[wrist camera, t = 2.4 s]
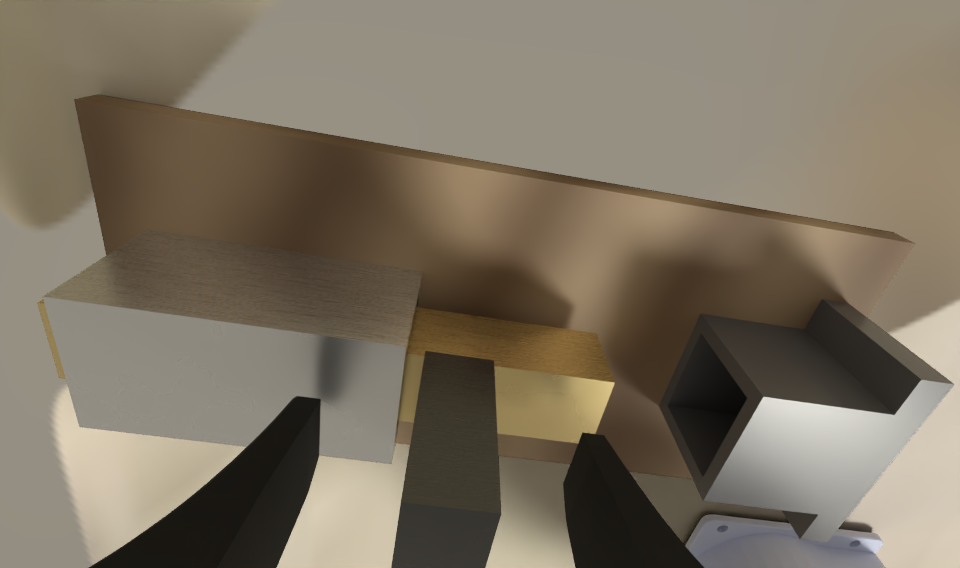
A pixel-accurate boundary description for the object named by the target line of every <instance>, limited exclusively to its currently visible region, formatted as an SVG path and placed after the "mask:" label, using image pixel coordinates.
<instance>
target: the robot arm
mask: <svg viewBox="0 0 960 568" xmlns="http://www.w3.org/2000/svg"><path fill="white" fill-rule="evenodd" d="M320 408H321V399H317V398H310V397H302V396H296V397H294V398H293V399H292V400H291V401H290V402H289V403H288V404H287V406H286V407H285V408H284V409H283V410H282V411H281V412H280V413H279V414H278V416H277V417H276V418H275V419H274V420H273V421H272V422H271V423H270V424H269V425H268V426H267V427H266V428H265V429H264V430H263V431H262V432H261V433H260V435H259V436H257V437H256V438H255V439H254V440H253V441H252V442H251V443H250V444H249V445H248V446H247V447H246V448H245V449H244V450H243V451H242V452H241V453H240V454H239V455H238V456H237V457H236V458H235V459H234V460H233V461H232V462H230V463H229V464H228V465H227V466H226V467H225V468H224V469H223V470H221V471H220V472H219V473H218V474H217V475H216V476H215V477H214V478H212V479H211V480H210V481H209V482H208V483H207V484H206V485H204V486H203V487H202V488H201V489H200V490H198V491H197V492H196V493H195V494H194V495H192V496H191V497H190V498H189V499H187V500H186V501H185V502H184V503H182V504H181V505H180V506H178V507H177V508H176V509H174V510H173V511H172V512H171V513H169V514H168V515H167V516H165V517H164V518H162V519H161V520H160V521H158V522H157V523H155V524H154V525H153V526H151V527H150V528H148V529H147V530H146V531H144V532H143V533H141V534H140V535H139V536H137V537H136V538H134V539H133V540H131V541H130V542H128V543H127V544H125V545H124V546H122V547H121V548H119V549H118V550H116V551H115V552H113V553H112V554H110V555H108V556H107V557H105V558H104V559H102V560H100V561H99V562H97V563H96V564H94V565H92V566H91V567H89V568H276V567H277V565H278V563H279V560H280V558H281V556H282V553H283V551H284V549H285V546H286V544H287V542H288V539H289V537H290V534H291V532H292V530H293V527H294V525H295V523H296V520H297V518H298V516H299V513H300V511H301V508H302V506H303V504H304V501H305V499H306V496H307V494H308V491H309V488H310V484H311V481H312V478H313V475H314V471H315V468H316V464H317V461H318V458H319V446H320ZM563 487H564V500H565V512H566V522H567V527H568V533H569V538H570V543H571V548H572V553H573V557H574V562H575V567H576V568H885V566H884V565H883V564H882V562H881V561H880V560H879V558H878V557H877V555H876V553H877V551H878V550H879V549H880V548H881V547H882V545H883V541H882V539H881V538H880V537H879V536H878V535H877V534H875V533H869V532H860V531H852V530H843V529H837V531H836V532H835V533H834V534H833V536H832V537H831V538H830V539H829V541H828V542H818V541H809V540H801V539H799V537H798V536H797V534H796V532H795V531H794V529H793V528H792V526H791V524H790V523H783V522H774V521H766V520H757V519H749V518H740V517H731V516H723V515H714V514H709V515H706V516H704V517H702V518H701V520H700V521H699V523H698V525H697V526H696V528H695V530H694V531H693V533H692V535H691V537H690V538H689V540H688V542H687V543H686V545H684V544H683V543H682V542H681V541H680V539H679V538H678V537H677V536H676V534H675V533H674V532H673V531H672V529H671V528H670V527H669V526H668V524H667V523H666V522H665V521H664V519H663V518H662V517H661V516H660V514H659V513H658V512H657V510H656V509H655V508H654V506H653V505H652V503H651V502H650V501H649V499H648V498H647V497H646V495H645V494H644V492H643V491H642V490H641V488H640V487H639V486H638V484H637V483H636V481H635V480H634V478H633V477H632V475H631V474H630V473H629V471H628V470H627V468H626V467H625V465H624V464H623V462H622V461H621V459H620V458H619V456H618V455H617V453H616V452H615V450H614V449H613V448H612V446H611V445H610V443H609V442H608V440H607V439H606V437H605V436H604V435H598V434H590V433H583V432H582V435H581V437H580V440H579V443H578V445H577V448H576V451H575V454H574V456H573V459H572V462H571V464H570V467H569V470H568V473H567V475H566V478H565V481H564V483H563Z"/></svg>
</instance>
